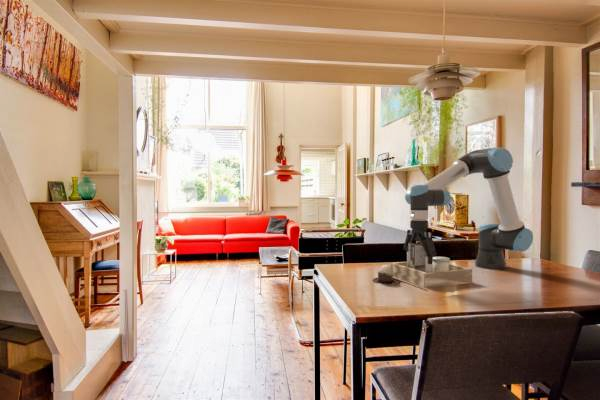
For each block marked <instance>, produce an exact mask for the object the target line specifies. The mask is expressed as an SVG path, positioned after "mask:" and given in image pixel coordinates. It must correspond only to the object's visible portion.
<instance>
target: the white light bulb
mask: <svg viewBox="0 0 600 400" xmlns="http://www.w3.org/2000/svg"><path fill="white" fill-rule="evenodd" d="M450 260H451V259H450V257H447V256H433V260H432V272H440V271H449V264H450Z"/></svg>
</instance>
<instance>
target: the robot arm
mask: <svg viewBox="0 0 600 400" xmlns="http://www.w3.org/2000/svg"><path fill="white" fill-rule="evenodd" d="M513 163H514V158H513V155H512V154H511V152H510V151H509V150H508V149H506V148H505V147H502V146H501V147H500V146H499V147H490V148H484V149H483V148H482V149H475V150H471V151H470V152H468V153H466V154H464V155H463V156H461V157H459V158H458V159H456V160H455V161H454V162H453V163H452V165H451V166H449V167H447V168H445V170H443V171H441V172H440V173H438V174H437V175H435V176H434V177H432V178H431V179H429V180H427V181H426V182H425V183H424V184H413V185H411V186H410V189H409V190H407V191H406V193H405V194H404V195H405V196H404V198H405V199H404V200H405V201H406V203H407V204H408V205H410V207H409V208H410V219H411V220H410V223H409V225H410V229H407V231H406V237H405V240H404V243H403V244H404V245H403V250H405V251H406V262H407V266H409V243H418V242H419V243H422V245H423V248H424V250H425V252H426V254H427V255H426V260H425V271H426V272H428V271H432V260H433V257H435V256H437V252H436V247H435V244H434V240H433V233H432V232H430V231H429V232H427V229H428V228H429V220H428V219H429V207H446V206H447V205H449V203H451V200H452V199H451V197H452V196H451V193H450V192H449V191H448V190H447V189H446V188H448V187H449V186H451V185H453V183H456V182H457V181H458V180H460V179H461V178H466V177H467V176H469V175H472V174H479V173H480V174H482V176H483V179H484V180H486V181H488V184H489V188H490V191H491V195H492V198H493V203H494V206H495V209H496V213H497V216H498V220H499V223H487V224H486V223H485V224H481V225H479V227H478V253H477V255H476V258H475V260H474V266H476V267H478V268H482V269H483V268H484V269H493V270H501V269H502V270H504V269H507V261H506V259H505V255H504V250H508V251H514V252H526V251H527V250H529V249H530V248H531V246H532V243H533V241H534V236H533V235H534V234H533V231H532V230H530V229H529V228H527V227H525V223H524V222H523V221H522V220H520V216H519V215H518V210H517V207H516V202H515V198H514V195H513V191H512V188H511V184H510V181H509V177H508V176H509V174H510V172H511V169H512V167H513Z"/></svg>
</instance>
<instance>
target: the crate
mask: <svg viewBox="0 0 600 400" xmlns="http://www.w3.org/2000/svg"><path fill="white" fill-rule="evenodd" d="M390 267H391V268H392V269H393V278H396V279H399V280H400V283H401V282H402V283H403V284H407V285H409V286H412V287H415V288H417V289H421V290H423V291H429V290H428V289H429V288H438V287H446V286H454V285H465V284H466V285H467V284H473V269H472V268H469V267H465V266H462V265H461V266H460V265H457V264H452V263H449V271H440V272H432V271H429V273H425V272H422V271H419V270H415V269H412V268H409V266H407V261H401V262H398V261H397V262H390ZM414 284H415V285H414ZM419 286H420V287H419Z"/></svg>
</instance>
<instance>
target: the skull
mask: <svg viewBox="0 0 600 400" xmlns="http://www.w3.org/2000/svg"><path fill="white" fill-rule="evenodd" d="M400 280H401V279H399V278H396V277H394V276H393V269H392V268H391V265H388V264H384V265H381V267H380V268H379V269H378V271H377V277H375V278H373V279H372V282H373V283H375V284H384V285H392V286H393V285H398V284H400V283H401V281H400Z"/></svg>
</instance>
